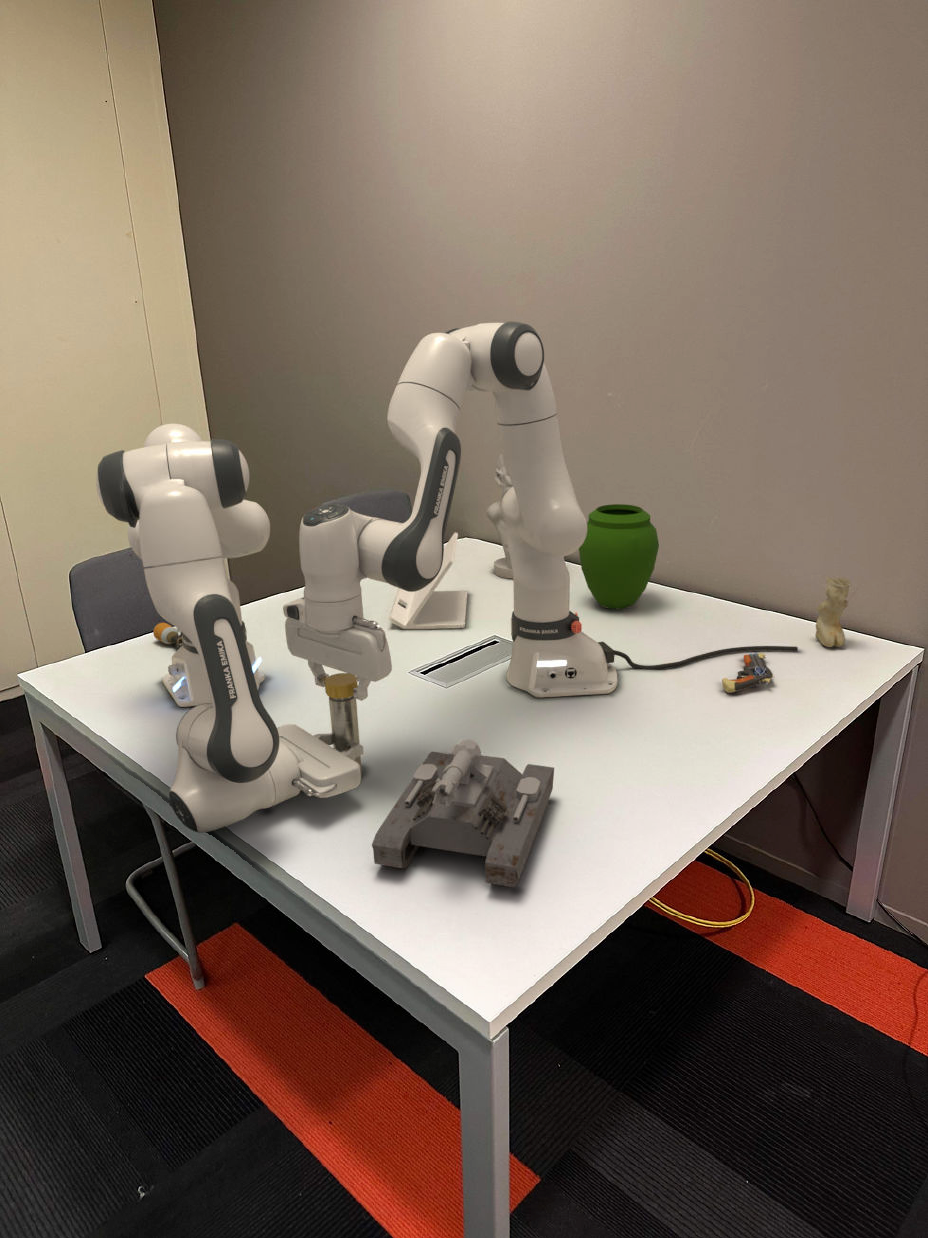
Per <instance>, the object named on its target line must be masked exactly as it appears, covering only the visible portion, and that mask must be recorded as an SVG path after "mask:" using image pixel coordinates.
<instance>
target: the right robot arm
mask: <svg viewBox="0 0 928 1238" xmlns="http://www.w3.org/2000/svg"><path fill="white" fill-rule="evenodd" d="M467 392H477V393H478V392H479V393H482V392H483V393H485V392H491V393H492V395H493V397H494V407H495V408H494V409H495V415H496V423H497V429H498V435H499V442H500V443H499V444H500V446H501V447H500V448H501V454H502V455H503V461H504V466H505V468H506V470H507V472H508V474H509V477H510V479H511V482H512V485H513V487H512V488H511V489H510V490H508V491H507V493H506V494H505V495H504V497H503V499H502V503H501V514H502V517H503V520H504V523H505V528H506V535H507V542H508V548H509V554H510V559H511V565H512V571H513V578H512V580H513V583H512V586H513V587H512V588H513V589H512V590H513V611H512V612H511V618H510V635H511V640H512V645H511V646H512V647H511V655H510V660H509V665H508V669H507V672H506V675H505V678H506V681H507V683H509V684H510V685H511V686H513V687H515V688H517V689H519V690H522V691H525V692H527V693H529V694H530V695H531V696H533V697H535V698H556V697H572V696H573V697H574V696H588V695H589V696H590V695H591V696H592V695H607V694H611V693H612V692H613V691H615V690H616V688H617V686H618V673H617V670H616V668H615V667H614V666H613V665H612V663H615V656H618V657H621V658H622V659H624V660H625V661H626V663H627V664H628V665H629V666H630V667H632V668H633V669H637V670H649V671H653V670H654V671H655V670H662V669H670V668H677V667H680V666H685V665H688V664H690V663H694V662H696V661H700V660H703V659H707V658H711V657H715V656H718V655H724V654H729V653H739V652H750V651H751V652H754V651H784V652H785V651H786V652H787V651H788V652H798V650H799V648H798V646H788V645H787V646H786V645H752V646H737V647H730V648H723V649H717V650H714V651H710V652H705V653H702V654H698V655H695V656H692V657H688V658H686V659H683V660H680V661H674V662H668V663H661V664H654V665H642V664H638V663H635V662H634V661H632V659H631V657H630V656H629V655H628V654H626V653H625V652H622V651H620V650H615V649H613V648H612V647H611V646H609V645H608V644H607V643H606V642H604V641H596V640H595V639H593V638H591V637H590V636H589V635H587V634H586V633H585V632H583V631H582V630H583V626H582V625H583V624H582V622H581V621H580V616H579V615H578V612H577V611H575V613H574V612H573V611H571V610H570V590H571V589H570V586H571V585H570V584H571V578H570V577H571V576H570V572H569V569H568V567H567V563H566V561H565V560H566V559H565V557H566V556H569V555H572V554H574V553H575V552H577V551H579V548H580V547H581V545H582V544H583V542H584V540H585V538H586V535H587V522H588V521H587V520H586V517H585V515H584V513H583V511H582V509H581V507H580V505H579V502H578V499H577V496H576V493H575V489H574V486H573V482H572V479H571V476H570V473H569V470H568V467H567V464H566V461H565V456H564V451H563V446H562V445H563V444H562V439H561V431H560V423H559V417H558V410H557V404H556V397H555V393H554V390H553V385H552V382H551V378H550V375H549V372H548V368H547V366H546V364H545V349H544V344H543V341H542V339H541V337H540V335H539V334H538V333H537V330H536V329H535V328H533V326H532V325H529V324H527V323H525V322H521V321H520V322H519V321H507V322H481V323H477V324H475V325H471V326H466V327H462V328H458V327H457V328H452V329H449V330H447V331H445V332H431V333H429V334H428V335H425V336H424V337H423V338H421V340H420V341H419V342H418V343H417V346H416V347H414V350H413V352H412V353H411V355H410V357H409V359H408V360H407V362H406V364H405V366H404V368H403V370H402V372H401V374H400V376H399V379H398V381H397V384H396V386H395V389H394V391H393V393H392V396H391V398H390V401H389V405H388V409H387V415H386V416H387V417H386V420H387V425H388V428H389V431H390V433H391V435H392V436H393V438H394V439H395V441H396V442H397V443H398V444H399V445H400V446H401V447H402V448H404V449H405V450H406V451H407V452H409V453H410V454H411V455H413V456H414V457H416V458H417V459H418V461H419V464H420V476H419V480H418V485H417V489H416V494H415V498H414V503H413V506H412V511H411V515H410V517H409V518H408V519H407V520H406V521H405V522H400V521H399V522H397V521H392V520H387V519H385V518H380V517H375V516H369V515H365V514H361V513H359V512H355V511H353V510H352V509H351V508H350V507H349V506H348V505H346V504H341V503H329V504H324V505H319V506H316V507H313V508H312V509H310V510H308V511H307V512H306V513H305V514H304V515H303V516H302V518H301V521H300V525H299V533H298V540H299V541H298V548H299V563H300V570H301V573H302V574H303V577H304V589H303V597H300V598H297V599H295V600H292V601H289V602H288V603H286V604H283V607H282V613H283V615H284V617H285V622H284V625H285V626H284V629H285V639H286V640H285V641H286V646H287V649H288V651H289V653H290V654H291V655H292V656H293V657H296V658H299V659H303V660H305V661H307V665H308V667H309V670H310V671H311V673H312V676H314V683H315V685H316V686H318V687H321V688H325V680H326V678H327V677H329V676H330V675H329V674H328V673H326V671H325V669H324V667H327V668H330V669H333V670H337V671H340V672H342V673H349V674H352V675H355V676H356V679H357V683H358V687H356V688H354V689H353V693H354V695H353V696H354V698H356V700H358V701H364V700H366V699H367V698H368V696H369V692H368V690H369V689H368V688H369V686H370V684H371V682H375V683H376V682H379V681H381V680H384V679H385V678H387V677H388V676H389V675H390V674H391V673H392V671H393V665H392V657H391V653H390V652H391V650H390V647H389V641H388V638H387V635H386V632H385V630H384V629H383V628H382V626H380V625H379V623H378V622H377V621H374V620H369V619H366V618H364V606H363V595H362V587H361V581H362V580H365V579H370V580H372V581H377V582H381V583H385V584H389V585H390V586H392V587H395V588H400V589H403V590H405V591H408V592H415V591H419V590H421V589H423V588H424V587H426V586H427V585H428V584H430V583H431V582H432V581H433V580H434V579H435V578H436V576H437V575H438V573H439V572H440V569H441V567H442V562H443V554H444V548H445V537H446V530H447V525H448V521H449V517H450V512H451V507H452V504H453V498H454V495H455V491H456V485H457V480H458V476H459V470H460V464H461V459H462V445H461V440H460V439H459V436H458V435H457V434H456V431H457V430H456V429H457V422H458V418H459V415H460V412H461V409H462V406H463V404H464V401H465V396H466V393H467Z"/></svg>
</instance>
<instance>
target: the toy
mask: <svg viewBox="0 0 928 1238" xmlns="http://www.w3.org/2000/svg"><path fill="white" fill-rule="evenodd" d="M554 776H555V767H553V766H546V765H539V764H530V763H528V764H527V765H526V766H525V768H524V770H523V772H522V773H521V772H520V771H519V770H518V769H517V768H516V767H514V766H513V765H512V764H511V763H510V762H509V761H508V760H507V759H506V758H505V757H499V756H497V757H496V756H492V755H491V756H490V755H482V751H481V747H480V746H479V744H478V743H477V742H475V741H474V740H473V739H472V740H471V739H462V740H460V741H459V742H457V743H456V744H455V745H454V746H453V748H452V752H451V753H445V752H438V751H431V752H429V754H427V756H426V758H425V759H424V761H423V762H422V764H421V765H419V766H418V767H417V769H416V770H415V772H414V773H413V775H412V779H411V780H410V782H409V783H408V785H407V786H406V788H405V789H404V791H403V792H402V794H401V795H400V797H399V798H398V800H396V803H395V804H394V805H393V807H392V809H391V810H390V812H389V813H388V815H387V816H386V817H385V819H384V820H383V822H382V823H381V825H380V827H379V829H377V831H376V833H375V835H374V838H373V840H372V843H371V847H372V851H373V852H372V853H373V862H374V864H375V865H380V866H386V867H393V868H398V869H407V868H408V867H409V864H410V863H411V861H412V860H413V858H414V856H415V855H416V853H417V851H418V850H419V847H424V848H429V849H430V848H431V849H437V850H443V851H450V852H456V853H462V854H467V855H475V856H480V857H481V856H482V857H486V858H485V862H484V869H485V871H484V873H485V883H486V884H492V885H499V886H505V887H511V888H516V886H518V884H519V881H520V879H521V875H522V873H523V870H524V868H525V865H526V863H527V859H528V857H529V855H530V852H531V849H532V846H533V844H534V842H535V838H536V836H537V833H538V830H539V828H540V825H541V822H542V820H543V817H544V814H545V812H546V809H547V806H548V804H549V801H550V798H551V795H552V792H553V789H554Z"/></svg>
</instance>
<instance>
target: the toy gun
mask: <svg viewBox="0 0 928 1238" xmlns="http://www.w3.org/2000/svg"><path fill="white" fill-rule="evenodd" d="M765 659H766V654H765V653H763V652H759V653H758V652H755V653H749V654H744V655H743V663H744V665H745V666H743V670H739V671H737V676H736V678H735V679H734V678H733V679H729V678H727V677H723V678H721V682H722V683H721V684H722V688H723V689H724V691H725V692H726V693H729V694H730V693H735V692H738V691H742V690H746V689H749V688H751V687H756V686H758V685H760V684H762V683H767V684H769V683H770V681H771V679H774V678H775V676H774V675H773V671H772V670H771V669H770V668H769V667H768V665H767V663H766V662H765Z"/></svg>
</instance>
